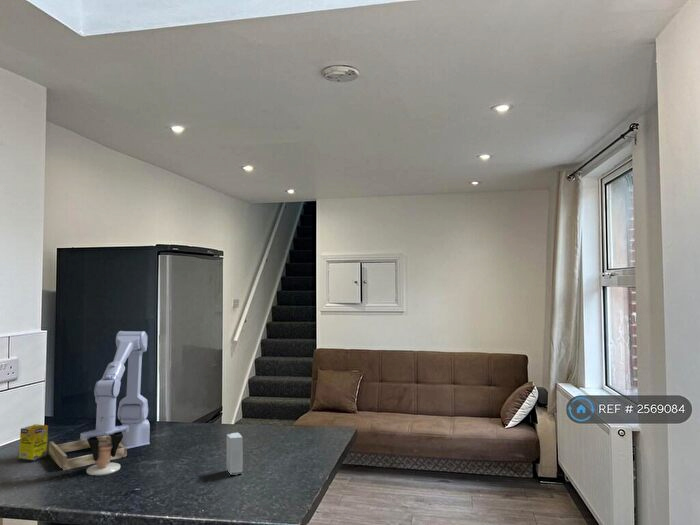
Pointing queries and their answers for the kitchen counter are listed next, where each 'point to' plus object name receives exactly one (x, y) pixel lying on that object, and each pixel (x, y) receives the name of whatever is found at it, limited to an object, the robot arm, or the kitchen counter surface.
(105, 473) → the saucer
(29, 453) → the supplement box
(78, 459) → the frame
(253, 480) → the kitchen counter surface
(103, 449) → the peach drawer knob
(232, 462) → the skincare box
